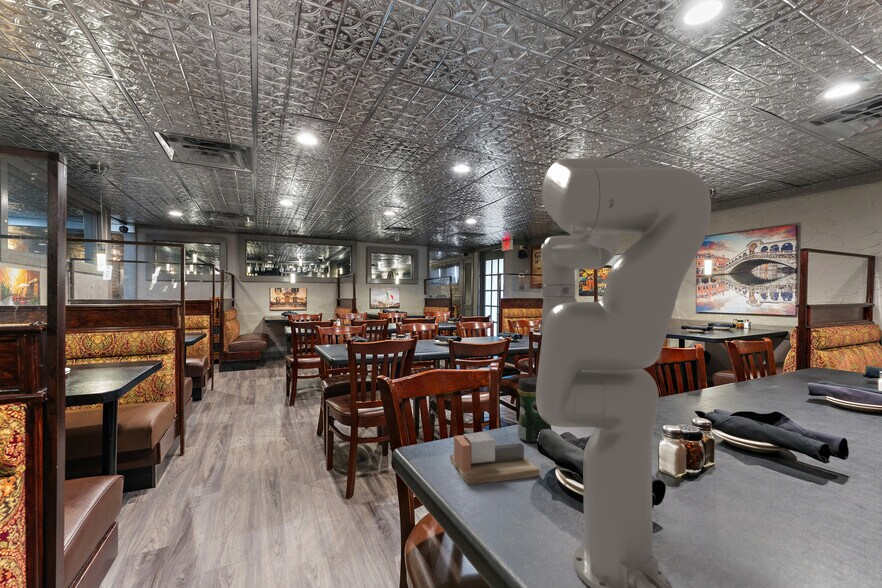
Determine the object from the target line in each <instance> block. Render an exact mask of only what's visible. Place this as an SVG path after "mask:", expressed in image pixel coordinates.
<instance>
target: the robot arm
mask: <svg viewBox="0 0 882 588" xmlns="http://www.w3.org/2000/svg"><path fill="white" fill-rule="evenodd" d="M541 197H542V198H541V199H542V203H543V207H544V209H545V210H546V213H547V214H548V215H549V216H550V218H552V220H553V221H554V222H555V223H556V224H557V225H558V226H559V228H561V230H562V231H564V232H566V233H568V234H569V235H553V236H549V237H547V238H546V239H545V240H544V243H542V244H541V248H540V259H541V265H542V266H541V267H542V269H541V270H542V271H541V272H542V300H543V302H542V311H541V314H542V315H541V325H540V326H539V328H538V331H539V337H540V340H541V343H540V351H539V352H540V353H539V360H538V368H537V376H536V377H537V385H536V404H537V409H538V412H539V414H540V416H541V418H542V419H543V420H544V421H545V422H546V423H548V424H550V425H551V426H554V427H560V428H595V429H593V432H591V435H590V436H589V438H588V440H587V441H586V444H585V447H584V449H583V457H582V458H583V459H582V460H583V461H582V462H583V463H582V464H583V465H582V466H583V467H582V468H583V469H582V472H583V473H582V474H583V475H582V476H583V481H582V482H583V484H582V485H583V543H582V544H581V545H579V546H578V547H577V548H576V549H575V551H574V554H573V567H574V570H575V571H576V574H577V575H578V576H579V578H580V579H581V580H582V581H583V583H585V585H587V586H588V587H589V588H672V585H670V584H668V583H667V580H666V576H665V573H664V571H663V570H662V568H661V567H660V566H659V560H658V559H657V558H655V557H654V542H653V541H654V539H653V538H654V537H653V536H654V534H653V532H654V531H653V525H654V524H653V466H652V465H653V461H652V460H653V440H654V432H655V431H654V430H655V423H656V419H657V415H658V408H659V402H660V401H659V398H660V397H659V390H658V389H659V388H658V386H657V383H656V380H655V379H654V378H653V376H652V375H651V374H650V373H649V372H648V371H647V370H645V369H647V368H648V367H651V366H652V365H654V364H655V363H656V361H657V360H658V359H659V357H660V354H661V353H662V350H663V347H664V343H665V340H666V337H667V333H668V330H669V326H670V323H671V320H672V316H673V313H674V310H675V307H676V303H677V299H678V296H679V292H680V288H681V286H682V283H683V281H684V279H685V277H686V275H687V273H688V271H689V269H690V267H691V266H692V264H693V261H694V260H695V259H696V257H697V255H698V253H699V251H700V249H701V247H702V244H704V241H705V238H706V235H707V233H708V230H709V226H710V221H711V214H712V199H711V195H710V191H709V188H708V186H707V184H706V182H705V181H704V180H703V178H701V176H699V175H698V174H696V173H694V172H692V171H691V170H690V171H689V170H686V169H682V168H677V167H676V168H675V167H668V166H667V167H664V166H663V167H661V166H644V167H643V166H642V167H641V166H638V167H637V166H636V165H635V164H634V163H633V162H631V161H628V160H627V159H623V158H620V157H619V158H618V157H617V158H616V157H590V158H589V157H584V158H583V157H582V158H580V157H579V158H577V157H576V158H563V159H559V160H557V161H555V162H554V163H553V164H552V165H551V166H550V167H549V168H548V169H547V172H546V174H545V176H544V180H543V182H542V188H541ZM622 234H623V235H627V234H628V235H629V234H630V235H633V234H634V235H635V234H636V235H637V234H638V235H640V237H639V239H638V240H636V241H634V243H633V244H631V245H630V246H629V247H628V248H626V249H625V251H624V252H622V254H621V255H620V256H619V257H618V258H617V259H616V261H615V262H614V263H613V265H612V266H611V267H610V269H609V271H608V273H607V278H606V283H605V289H604V294H603V296H602V297H601V299H599V300H597V301H581V302H580V301H578V300H577V299H576V270H598V269H602V268H603V267H605V266H606V265H608V263H609V262H611V261H612V260H613V258H614V257H615V256H616V254H617V251H618V247H619V244H620V235H622Z"/></svg>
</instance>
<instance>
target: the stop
mask: <svg viewBox="0 0 882 588" xmlns="http://www.w3.org/2000/svg"><path fill="white" fill-rule="evenodd" d="M453 446H454V447H453V449H454V451H453V452H454V460H455V462H456V463H457V465H458V466H459V467H460V469H461V470H462V471H463V472H465V471H471V445H470V444H469V443H468V442H467V441H466V440H465V438H464V435H454V436H453Z"/></svg>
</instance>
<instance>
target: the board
mask: <svg viewBox="0 0 882 588" xmlns="http://www.w3.org/2000/svg"><path fill="white" fill-rule="evenodd" d="M449 458H450V460H451V461H452V462H451V461H450V462H451V464H452V463H453V464H454V465H453V464H452V465H453V467H454V468H455V467H456V468H457V469H456V468H455V469H456V471H457V470H458V471H459V472H458V471H457V472H458V473H460V474H461V475H460V474H459V475H460V476H461V478H462V477H463V478H462V479H463V480H465V481H464V482H465V484H466V483H467V484H466V485H467V486H470V485H469V484H471V485H477V484H476V483H479V484H485V482H487V483H493V482H501V481H508V480H517V479H524V478H534V477H540V468H538V467H537V466H536V465H535V464H534V463H532V462H531V461H530V460H529V459H528V458H526V456H524V460H520V461H511V462H502V463H494V464H485V465H476V466H471V471H465V472H463V471H462V470H461V469H460V467H459V466H458V465H457V463H456V462H455V460H454V454H450V456H449Z"/></svg>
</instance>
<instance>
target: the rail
mask: <svg viewBox="0 0 882 588" xmlns="http://www.w3.org/2000/svg"><path fill="white" fill-rule="evenodd" d="M524 457H525V446H524V445H523V444H522V443H509V444H501V445H500V444H499V445H495V461H490V462H481V463H472V464H471V466H476V465H485V464H494V463H502V462H511V461H520V460H524Z"/></svg>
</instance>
